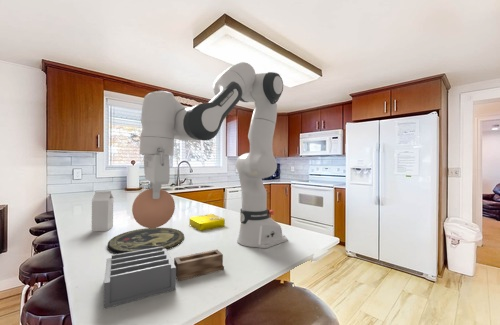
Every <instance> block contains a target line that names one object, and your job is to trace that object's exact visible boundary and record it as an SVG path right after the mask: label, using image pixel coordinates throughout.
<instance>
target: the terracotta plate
mask: <svg viewBox="0 0 500 325" xmlns="http://www.w3.org/2000/svg"><path fill="white" fill-rule="evenodd" d="M152 192H153V188H151V189H150V188H148V189H145V190H142V191H141V192H140V193H139V194H138V195H137V196H136V197H135V199H134V201H133V203H132V207H131V208H132V209H131V211H132V216H133V219H134V220H135V222H136V223H137V224H138V225H140V226H142V227H144V228H161V227H162V226H164V225H166V224H167V223H168V222H169V221H170V220H171V219H172V217H173V215H174V213H175V209H176V204H175V203H176V202H175V200H174V198H173V196H172V195H171V194H170V193H169V192H168V191H167V190H165V189H162V188H161V190H160V197H159V199H153V198H152Z"/></svg>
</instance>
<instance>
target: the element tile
mask: <svg viewBox="0 0 500 325" xmlns="http://www.w3.org/2000/svg"><path fill="white" fill-rule="evenodd" d="M225 220H226V219H225V218H223V217H221V216H218V215H216V214H213V213H210V214H203V215H197V216H191V217H189V226H190V225H191V226H190V227H192V228H193V227H194V229H195V228H196V230H197V231H199V232H204V231H209V230H215V229H219V228H224V227H225V226H226V222H225Z"/></svg>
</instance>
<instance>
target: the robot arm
mask: <svg viewBox="0 0 500 325" xmlns="http://www.w3.org/2000/svg"><path fill="white" fill-rule="evenodd" d="M212 88H213V92H214V93H213V94H214V95H215V96H214V97H213V98H212V99H211V100H209V101H208V102H203V103H200V104H196V105H193V106H191V107H186V106H184V105H183V104H182V103H180V101H178V100H177V99H176V97H175V96H174V93H172V92H170V91H167V90H166V91H165V90H158V91H157V90H156V91H152V92H149V93H147V94H146V95H144V97H143V100H142V101H143V102H142V106H141V116H140V117H141V118H140V122H141V126H142V127H141V128H142V130H141V132H140V136H139V137H140V138H139V139H140V141H139V154H140V155H142V156H143V169H144V170H143V171H144V178H145V179H146V180H147V181H149V189H151V188H153V192H152V198H153V199H159V197H160V190H161V189H162V185H165V186H166V185H169V183H170V172H171V171H170V169H171V168H170V165H171V164H170V156H171V157H172V156H174V149H175V148H174V146H175V139H176V140H178V141H184V142H185V141H186V142H187V141H210V140H212V139H214V138H215V137H216V136H217V135H218V133H219V131H220V129H221V126H222V124H223V122H224V120H225V119H226V118H227V117H228V115H229V114H230V113H231V112H232V110H233V109H234V108H235V107H236V106H237V104H238V103H239V102H243V103H253V104H254V109H253V112H252V116H251V119H250V124H249V128H248V134H247V138H248V142H249V152H245V153H243V154H241V155H240V156H238V157H237V159H236V161H235V168H236V171H237V173H238V177H239V183H240V191H241V208H240V212H239V213H240V216H239V217H240V218H239V219H240V220H239V221H240V228H239V232H238V233H239V234H238V236H237V240H236V241H237V243H238V244H240V245H242V246H245V247H250V248H258V249H259V248H260V249H268V248H271V247H273V246H277V245H278V244H282V243H284V242H287V241H288V237H287V236H286V235H284V234H283V231H282V230H283V229H282V227H281V225H280V224H279V223H278V222H276V221H275V220H274V219H273V218H272V217H271V216H274V214H275V210H273V209H268V207H267V205H268V204H267V203H268V201H267V200H268V198H267V197H268V192H267V189H266V188H265V186H264V182H263V179H266V178H267V179H268V178H269V177H273V175H275V172H277V169H278V168H277V167H278V163H277V162H278V161H277V159H276V158H275V156H274V150H273V141H274V133H275V130H276V129H275V128H276V124H277V119H278V118H277V116H278V104H277V102H278V101H279V99H280V98H281V96H282V94H283V90H284V81H283V78H282V77H281V75H280V74H279V73H277V72H273V71H272V72H271V71H269V72H265V73H264V72H263V73H262V72H261V73H256V71H255V69H254V67H253V66H252V65H251V64H250V63H248V62H243V61H242V62H239V63H236V64H233V65H231V66H230V67H228V68H227V69H226V70H224V71H223V72H222V73H220V74H219V75H218V76H217V77H216V79H215V80H214V82H213V85H212ZM270 215H271V216H270Z"/></svg>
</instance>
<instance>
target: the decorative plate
mask: <svg viewBox="0 0 500 325" xmlns="http://www.w3.org/2000/svg"><path fill="white" fill-rule="evenodd" d="M184 240H185V234H184V233H183V231H182V230H179V229H176V228H170V227H157V228H146V227H144V228H138V229H134V230H129V231H126V232H122V233H120V234H118V235H116V236H113V237H112V238H111V239H110V240H108V242H107V246H106V248H107V249H108V251H109V252H111V253H114V255H115V254H121V253H127V252H133V251H139V250H145V249H150V248H156V247H163V249H166V250H167V249H168V250H171V249H173V248H175V247H178V246H179V245H180V244H181V242H182V241H183V242H184ZM183 242H182V243H183ZM178 244H179V245H178ZM172 247H173V248H172ZM170 248H171V249H170ZM168 250H167V251H168Z"/></svg>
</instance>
